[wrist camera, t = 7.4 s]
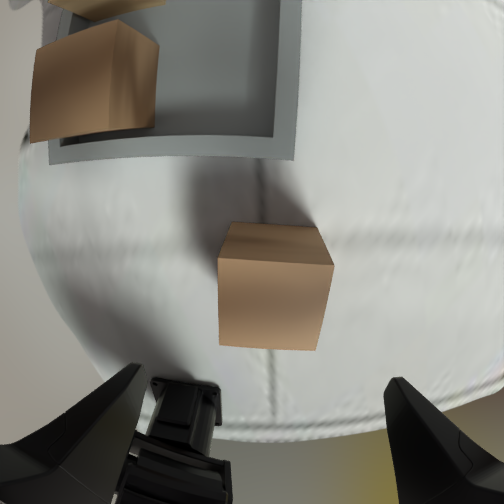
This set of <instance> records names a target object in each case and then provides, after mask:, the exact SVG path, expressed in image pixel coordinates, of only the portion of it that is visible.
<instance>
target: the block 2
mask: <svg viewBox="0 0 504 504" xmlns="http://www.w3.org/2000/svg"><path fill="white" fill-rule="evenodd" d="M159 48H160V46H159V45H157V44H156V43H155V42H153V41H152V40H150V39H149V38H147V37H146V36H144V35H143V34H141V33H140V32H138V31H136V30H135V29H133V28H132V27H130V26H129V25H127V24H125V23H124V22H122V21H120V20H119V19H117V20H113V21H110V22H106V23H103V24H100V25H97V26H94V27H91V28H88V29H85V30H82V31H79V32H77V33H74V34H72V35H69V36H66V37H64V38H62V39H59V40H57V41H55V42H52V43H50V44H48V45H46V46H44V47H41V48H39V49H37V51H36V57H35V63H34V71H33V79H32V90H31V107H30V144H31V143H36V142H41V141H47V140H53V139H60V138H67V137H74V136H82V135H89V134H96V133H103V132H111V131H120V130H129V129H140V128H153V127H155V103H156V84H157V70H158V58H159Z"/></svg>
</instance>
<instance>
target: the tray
mask: <svg viewBox="0 0 504 504" xmlns="http://www.w3.org/2000/svg"><path fill="white" fill-rule="evenodd" d="M301 12H302V0H166V5H162V6H156V7H151V8H146V9H141V10H137V11H133V12H129V13H125V14H121V15H117V16H114V17H110V18H107V19H103V20H100V21H97V22H93V21H91V20H89V19H87V18H84V17H82V16H80V15H78V14H75V13H73V12H71V11H68V10H66V9H63V11H62V15H61V20H60V24H59V29H58V34H57V39H56V41H57V40H59V39H62V38H64V37H66V36H69V35H72V34H74V33H77V32H79V31H82V30H85V29H88V28H91V27H94V26H97V25H100V24H103V23H106V22H110V21H113V20H117V19H119V20H120V21H122V22H124V23H125V24H127V25H129V26H130V27H132V28H133V29H135V30H136V31H138V32H140V33H141V34H143V35H144V36H146V37H147V38H149V39H150V40H152V41H153V42H155V43H156V44H157V45H159V46H160V48H159V58H158V70H157V84H156V103H155V127H153V128H140V129H129V130H120V131H111V132H103V133H96V134H89V135H82V136H74V137H67V138H60V139H53V140H48V148H49V165H54V164H62V163H70V162H79V161H89V160H100V159H113V158H129V157H152V156H224V157H248V158H265V159H278V160H290V161H294V150H295V137H296V122H297V107H298V90H299V70H300V46H301Z"/></svg>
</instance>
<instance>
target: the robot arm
mask: <svg viewBox="0 0 504 504" xmlns="http://www.w3.org/2000/svg"><path fill="white" fill-rule="evenodd" d="M150 384H151V387H152V391H153V394H154V397H155V400H156V406H155V409H154V412H153V414H152V417H151V420H150V423H149V426H148V429H147V432H146V434H145V435H144V434H142V433H140V432H137V430H135V428H136V426H137V423H138V420H139V416H140V412H141V408H142V403H143V399H144V395H145V390H146V386H147V377H146V373H145V370H144V367H143V365H142V364H139V363H134V362H132V363H130V364H129V365H127V366H126V367H125V368H123V369H122V370H121V371H119V372H118V373H117V374H115V375H114V376H113V377H111V378H110V379H109V380H107V381H106V382H105V383H103V384H102V385H101V386H99V387H98V388H97V389H95V390H94V391H93V392H91V393H90V394H89V395H87V396H86V397H85V398H83V399H82V400H81V401H79V402H78V403H77V404H75V405H74V406H72V407H71V408H70V409H68V410H67V411H66V412H65V413H63V414H62V415H60V416H59V417H57V418H56V419H54V420H53V421H52V422H50V423H49V424H47V425H45V426H44V427H42V428H40V429H39V430H37V431H35V432H33V433H31V434H30V435H28V436H26V437H24V438H22V439H21V440H19V441H17V442H14V443H11V444H6V445H0V504H111V501H112V498H113V495H114V494H117V498H116V501H115V504H232V501H233V494H232V480H231V465H230V461H227V460H219V459H215V458H211V457H209V454H210V448H211V442H212V437H213V431H214V426H221V425H222V403H221V390H220V389H219V388H217V387H211V386H203V385H196V384H189V383H183V382H176V381H171V380H165V379H160V378H152V379H151V381H150ZM384 405H385V415H386V425H387V433H388V438H389V443H390V448H391V454H392V459H393V465H394V470H395V476H396V484H397V491H398V499H399V504H504V463H503V462H501V461H499V460H498V459H496V458H495V457H494V456H492V455H491V454H490V453H488V452H487V451H485V450H484V449H483V448H481V447H480V446H479V445H477V444H476V443H475V442H474V441H473V440H471V439H470V438H469V437H468V436H467V435H466V434H465V433H463V432H462V431H461V430H460V429H459V428H458V427H457V426H456V425H455V424H454V423H453V422H451V421H450V420H449V419H448V418H447V417H446V416H445V415H444V414H442V412H441V411H439V410H438V409H437V408H436V407H435V406H434V405H433V404H432V403H431V402H430V401H428V400H427V399H426V398H425V397H424V396H423V395H422V394H421V393H420V392H419V391H417V390H416V389H415V388H414V387H413V386H412V385H411V384H410V383H409V382H408V381H406V380H405V379H404V378H403V377H393V378H392V379H391V380H390V382H389V384H388V385H387V387H386V389H385V391H384ZM129 452H131V453H133V454H136V455H138V456H137V457H135V456H133V455H130V454H129Z"/></svg>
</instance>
